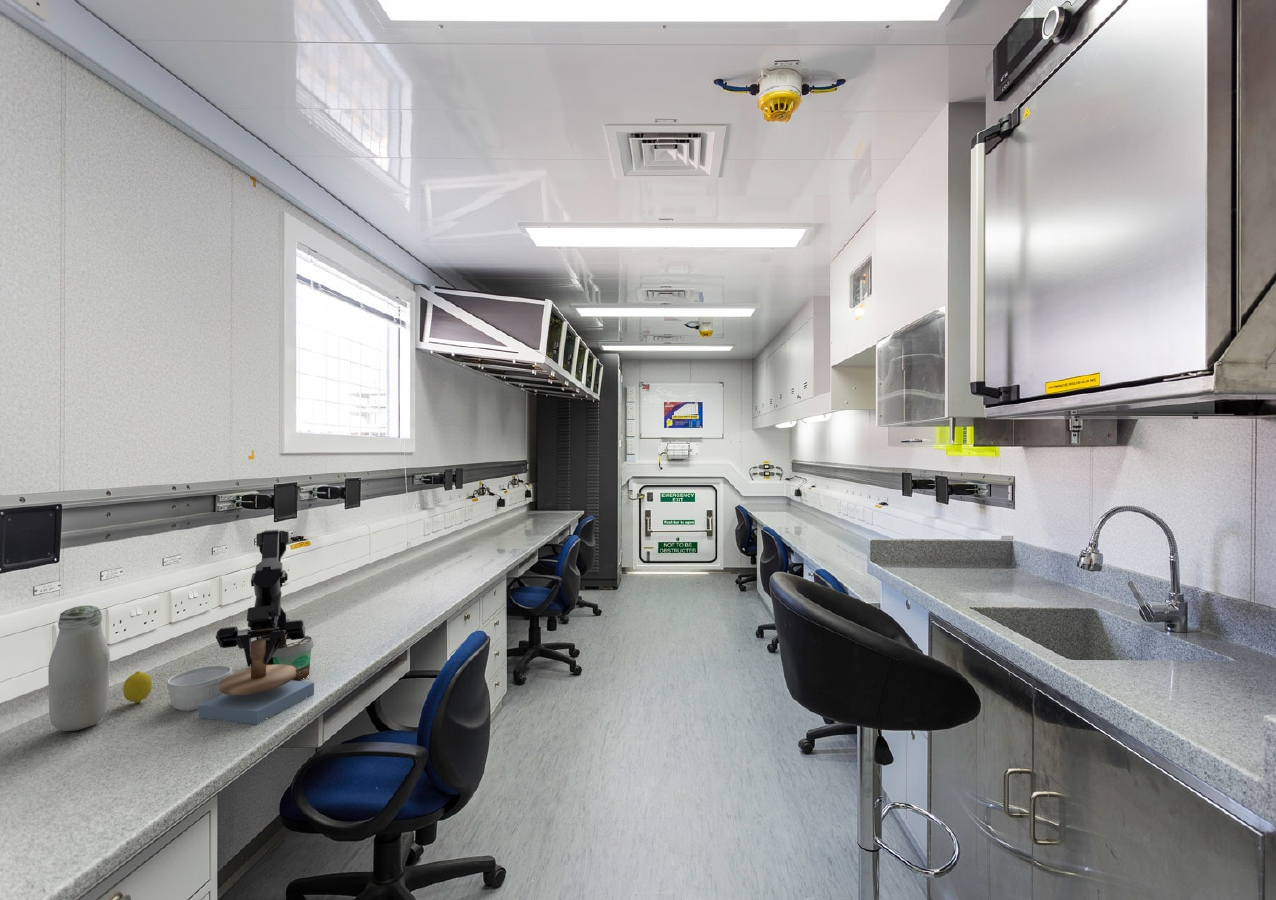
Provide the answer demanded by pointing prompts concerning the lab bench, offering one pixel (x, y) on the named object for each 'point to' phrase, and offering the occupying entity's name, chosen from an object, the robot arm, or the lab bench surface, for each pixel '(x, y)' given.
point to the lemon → (137, 687)
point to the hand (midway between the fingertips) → (257, 664)
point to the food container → (296, 656)
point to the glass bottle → (79, 670)
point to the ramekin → (196, 686)
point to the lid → (257, 674)
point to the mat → (256, 703)
